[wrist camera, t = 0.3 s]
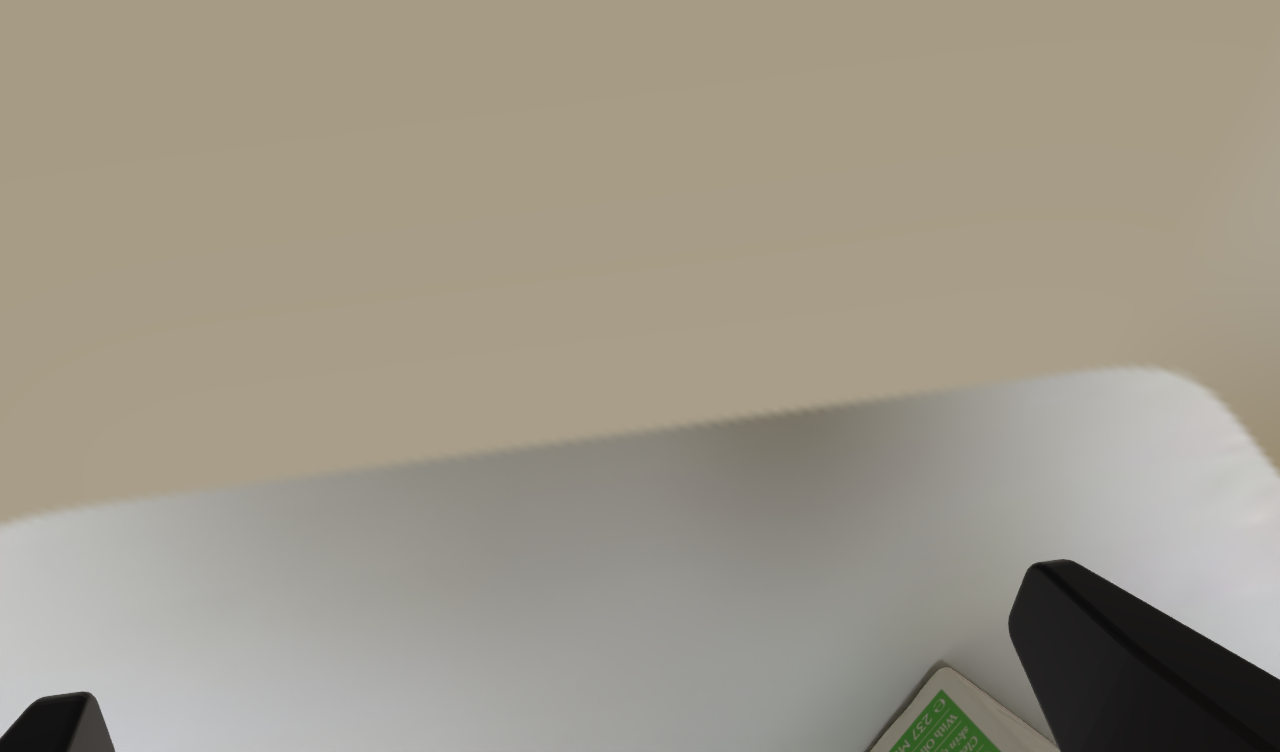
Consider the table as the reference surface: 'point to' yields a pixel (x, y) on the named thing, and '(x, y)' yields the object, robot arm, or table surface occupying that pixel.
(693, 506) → the table surface
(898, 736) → the skincare box
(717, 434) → the table surface
